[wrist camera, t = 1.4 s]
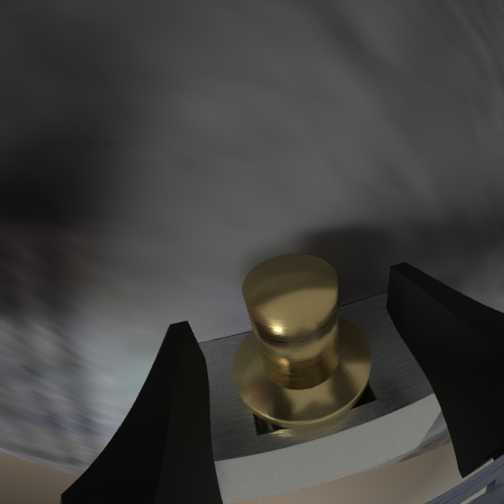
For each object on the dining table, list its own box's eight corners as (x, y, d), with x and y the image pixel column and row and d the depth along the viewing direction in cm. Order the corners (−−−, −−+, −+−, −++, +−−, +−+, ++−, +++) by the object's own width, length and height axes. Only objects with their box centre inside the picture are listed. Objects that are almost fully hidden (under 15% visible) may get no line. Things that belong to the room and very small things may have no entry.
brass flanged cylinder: (341, 369, 17) (374, 446, 13) (251, 394, 17) (268, 477, 13) (339, 221, 12) (413, 313, 7) (200, 256, 12) (206, 374, 7)
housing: (380, 373, 19) (417, 447, 14) (214, 419, 19) (224, 503, 14) (393, 289, 15) (458, 380, 10) (169, 349, 15) (168, 466, 9)
